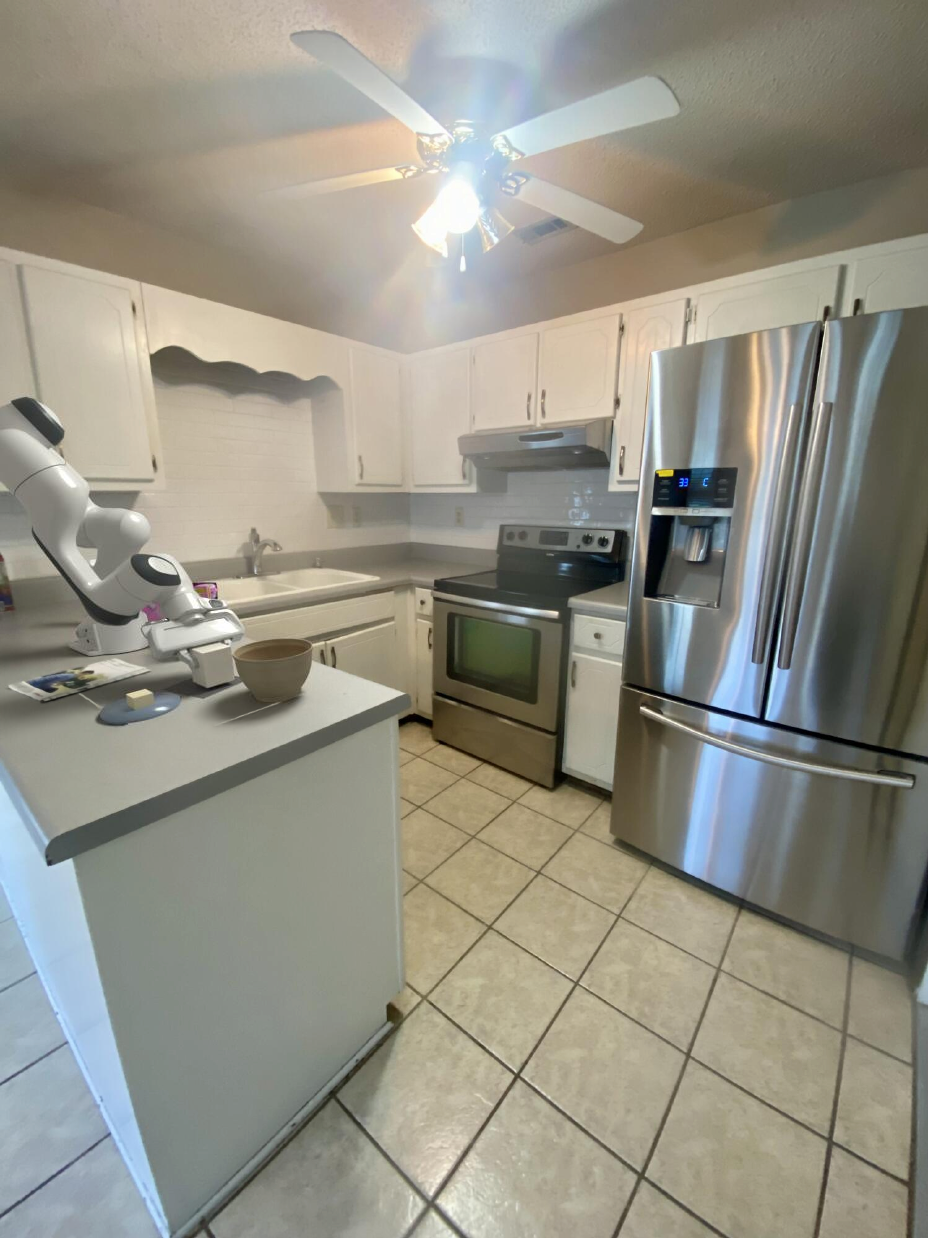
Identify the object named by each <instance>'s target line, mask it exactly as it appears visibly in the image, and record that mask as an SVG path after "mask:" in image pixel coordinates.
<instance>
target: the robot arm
mask: <svg viewBox="0 0 928 1238" xmlns="http://www.w3.org/2000/svg"><path fill="white" fill-rule="evenodd" d="M64 438H65V429H64V428H63V425H62V422H61V420H60V419H59V417H58V416H57V414H56V412H54V410H52V409H51V408H49V407H48V406H47V405H45V404H43V403H41V402H40V401H37V400H36V398H32V397H28V396H23V397H18V398H15V399H12V400H10V403H7V404H5V405H2V406H0V482H1V484H2V485H3V486H4V487H5V488H6V489H7V490H8V491H9V492H10V493H11V494H12V495H13V496H14V497H15V498H16V499H17V500H18V501H19V502H20V504H21V505H22V506H23V508H24V509H25V511H26V512H27V514H28V518H29V520H30V522H31V534H32V537H33V539H34V540H35V542H36V543H37V545H38V546H39V548H40V549H41V551H42V552H43V553H44V554H45V556H46V558H48V560H49V561H50V562H51V564H52V565H53V567H55V569H56V570H57V571H58V572H59V574H60V575H61V577H62V578H63V579H64V580H65V581H66V583H68V585H69V587H70V588H72V590H73V591H74V593H75V594H76V595H77V597H78V599H79V600H80V603H81V604H82V606H83V607H84V610H85V612H86V613H87V614H88V615H87V616H86V617H85V618H84V619H83V620H82V621H81V622H80V623H79V624H78V625H77V627H76V630H75V635H76V637H77V640H75V641H73V642H70V643H68V648H69V649H72V650H74V651H77V652H79V653H81V654H84V656H85V655H86V656H88V657H92V656H93V657H94V656H101V655H113V654H121V653H122V654H123V653H127V652H135V651H138V650H142V649H145V648H147V647H149V650H150V653H151V655H152V657H153V658H154V659H156V660H158V661H163V660H167V659H170V658H174V657H177V658H178V659H179V661H181V662H182V663H184V664H186V665H188V667H189V669H190V670H191V671H192V670H193V669H196V668H198V667H199V662H197V661H198V660H197V658H195V659H192V658H191V657H189V656H188V655H187V653H189V649H188V648H191V647H195V646H199V645H204V644H208V643H212V642H216V641H217V642H219V643H222V644H225V645H228V646H231V647H232V643H236V642H240V641H241V640H242V639H243V637H244V635H245V633H246V629H245V626H244V625H243V623H242V621H241V620H240V618H239V617H238V616H237V614H236V613H235V612H234V611H233V610H231V609H229V608H228V607H229V605H228V603H227V601H226V600H224V599H219V598H218V599H208V598H203V597H200V596H199V594H198V593H197V592H196V591H195V590H194V588H193V584H192V580H191V578H190V576H189V574H188V573H187V572H186V570H185V569H184V567H183V566H182V565H181V564H180V562H179V561H178V560H177V558H175V557H173V556H172V555H171V554H168V553H164V552H163V553H162V552H158V553H157V552H156V553H153V554H147V553H140V551H141V550H142V548H143V547H145V545H146V544H147V543H148V542H149V540H150V538H151V533H152V532H151V531H152V530H151V525H150V523H149V519H147V518H146V516H144V515H143V514H142V513H141V512H137V511H134V510H130V509H126V508H122V507H118V508H117V507H116V508H115V507H100V506H98V505H97V504H95V503H94V502H93V501H92V499H91V498H90V491H91V490H90V489H91V487H90V484H89V483H88V482H87V480H86V479H84V477H83V476H82V475H81V474H80V473H79V472H78V471H77V470H76V469H74V467H73V466H72V465H71V464H70V463H69V462H67V460H66V459H64V458H63V457H62V456H61V454H59V452H57V451H56V450H54V448H52V447H53V446H54V447H57V446H58V445H59V444H60V443H61V442H62V441H63V440H64ZM78 548H82V549H91V550H92V549H94V550H96V549H97V553H96V558H95V559H96V562H95V564H94V566H93V567H90V566H89V565H90V563H88V562H87V560H86V559H85V558H84V557H83V554H81V552H80V550H79V549H78ZM153 600H154V601H157V602H158V603H159V606H160V611H161V613H162V615H163V617H164V619H159V620H156V621H148V620H147V616H146V614H145V613H144V612H142V609H143V608H145V607H146V606H147V605H148V604H150V603H151V602H152V601H153ZM232 659H234V658H233V652H232Z"/></svg>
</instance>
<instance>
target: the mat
mask: <svg viewBox="0 0 928 1238" xmlns="http://www.w3.org/2000/svg"><path fill="white" fill-rule="evenodd" d="M234 677H235V680H232V681H229V682H225V683H222V684H219V685H216V686H212V687H209V688H206V687H204V686H202V685H199V684H197V683H195V682H193V677H191V678H189V679H186V680H183V681H181V682H177V683H175V684H172V685H169V686H167V687H164V688H161V690H162V691H165V692H170V693H174V694H179V695H180V694H181V695H185V696H190V697H194V698H199V699H203V700H204V699H206V698H209V697H211V696H214V695H215V694H218V693H221V692H223V691H224V690H228V689H230V688H233V687H234V686H237V685H239V684H241V683H243V682H242V680H241V678H240V677H239V675H238V676H237V675H234Z"/></svg>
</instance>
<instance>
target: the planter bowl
mask: <svg viewBox="0 0 928 1238" xmlns="http://www.w3.org/2000/svg"><path fill="white" fill-rule="evenodd" d="M313 646H314V645H313V643H312V642H311V641H310V640H307V639H302V638H294V637H283V638H282V637H277V638H269V639H261V640H258V641H257V640H256V641H253V642H249V643H247V644H244V645H241V646H239V647H237V648H236V649H235V650H233V652H232V653H233V658H232V659H233V661H234V662H235V663H234V664H235V668H236V671H237V674H238V676H239V677H240V678H241V680H242V683H243V685H244V687H246V688H247V689H248V691H250V692H251V693H252V694H253V695H254V698H255V700H257V701H258V702H262V703H281V702H283V703H284V702H287V701H290V700H293V699H295V698H297V697H298V696H300V694H301V693H302V687H303V686H304V684H305V683H306V681H307V679H308V677H309V675H310V672H311V669H312V663H313V649H314V647H313Z"/></svg>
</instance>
